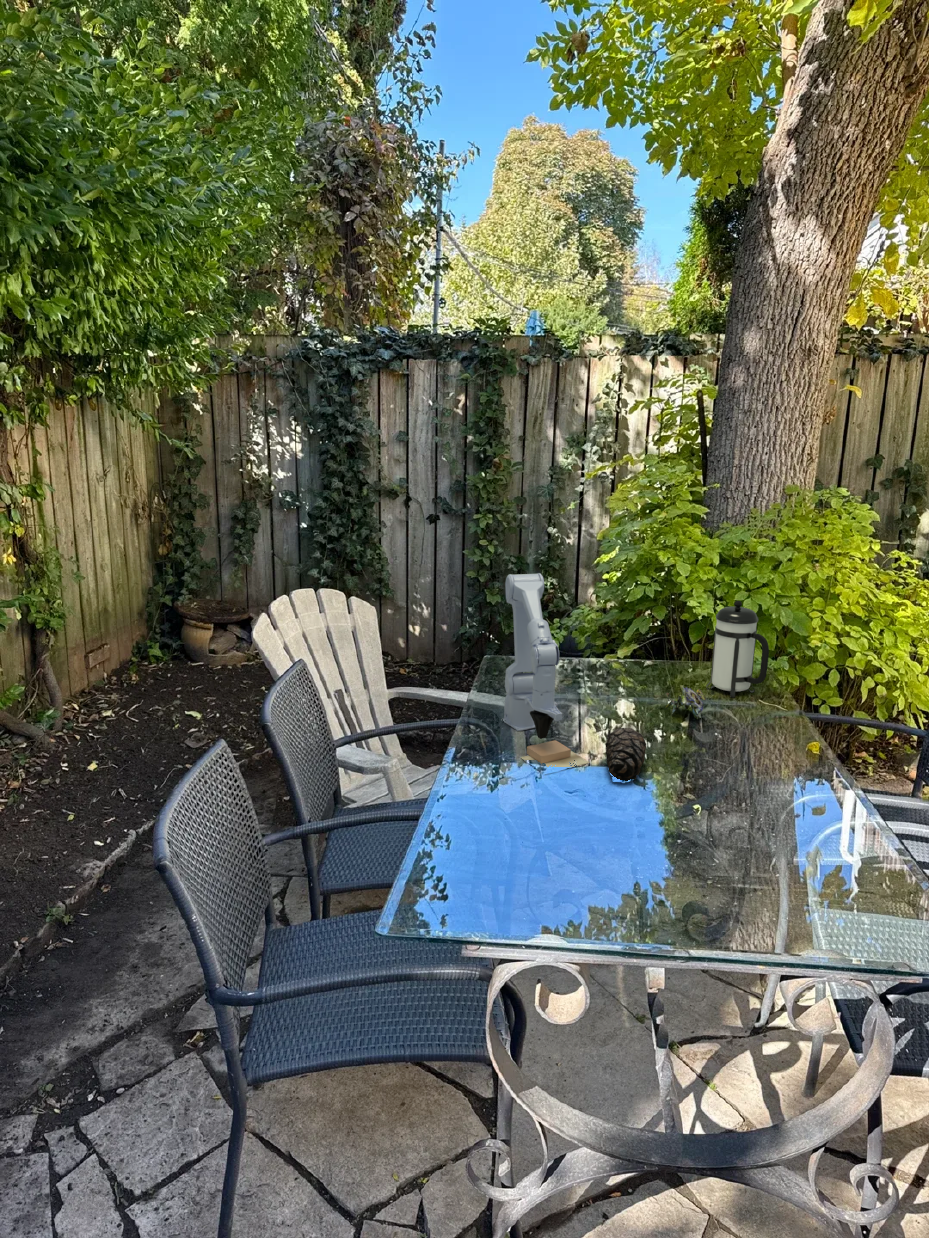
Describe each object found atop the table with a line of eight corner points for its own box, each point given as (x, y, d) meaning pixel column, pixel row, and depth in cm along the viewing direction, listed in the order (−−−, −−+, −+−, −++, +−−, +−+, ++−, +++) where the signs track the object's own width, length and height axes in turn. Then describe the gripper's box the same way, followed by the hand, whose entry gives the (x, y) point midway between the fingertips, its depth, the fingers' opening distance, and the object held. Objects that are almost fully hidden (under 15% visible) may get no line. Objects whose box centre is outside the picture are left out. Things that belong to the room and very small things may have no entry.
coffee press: (706, 696, 252) (713, 605, 245) (706, 681, 267) (713, 594, 259) (764, 702, 247) (773, 609, 240) (761, 686, 262) (770, 597, 254)
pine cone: (606, 786, 191) (608, 747, 189) (603, 755, 209) (605, 720, 206) (650, 788, 190) (653, 750, 188) (643, 757, 207) (646, 722, 205)
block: (526, 746, 208) (541, 756, 202) (555, 740, 212) (570, 749, 206) (526, 753, 208) (541, 764, 202) (555, 747, 212) (570, 757, 206)
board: (520, 758, 206) (520, 757, 206) (564, 748, 213) (564, 746, 213) (544, 775, 197) (544, 773, 197) (589, 763, 203) (589, 762, 203)
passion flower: (696, 735, 235) (708, 713, 226) (659, 726, 237) (670, 704, 227) (698, 704, 243) (710, 682, 233) (663, 696, 244) (673, 673, 234)
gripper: (572, 694, 201) (570, 744, 205) (540, 678, 214) (539, 725, 217) (549, 699, 198) (548, 749, 201) (518, 682, 210) (517, 729, 214)
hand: (542, 737), depth 209 cm, fingers closed
